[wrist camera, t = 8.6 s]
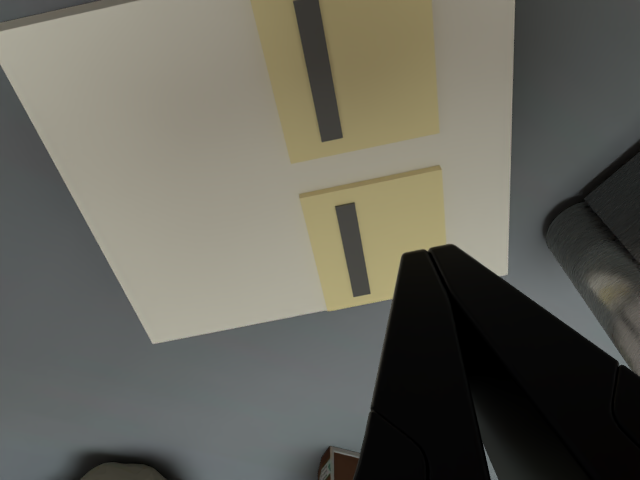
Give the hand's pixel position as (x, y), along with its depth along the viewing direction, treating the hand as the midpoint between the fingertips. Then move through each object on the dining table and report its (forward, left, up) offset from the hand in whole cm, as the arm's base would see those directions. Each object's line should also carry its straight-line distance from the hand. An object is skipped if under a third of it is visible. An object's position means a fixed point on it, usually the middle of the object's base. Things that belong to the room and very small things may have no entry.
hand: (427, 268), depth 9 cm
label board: (-4, -1, -11) cm, 12 cm away
